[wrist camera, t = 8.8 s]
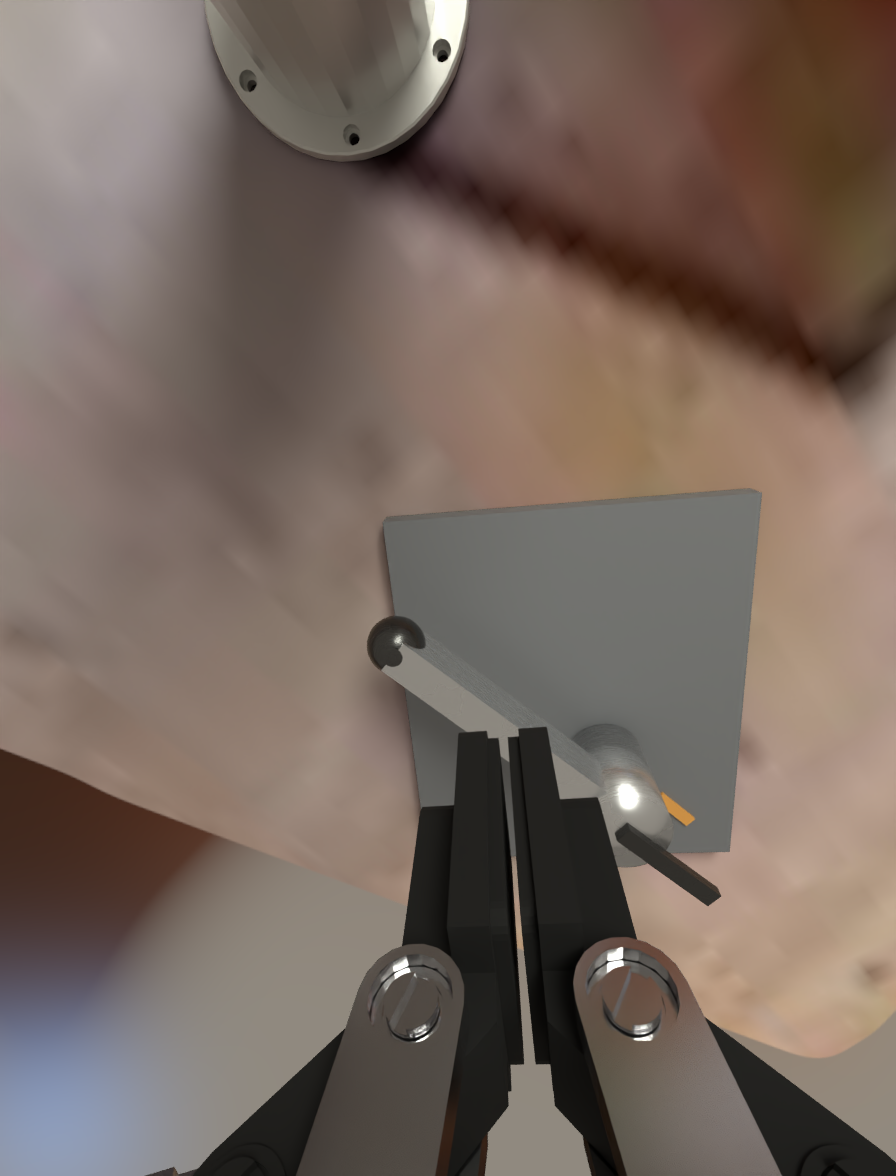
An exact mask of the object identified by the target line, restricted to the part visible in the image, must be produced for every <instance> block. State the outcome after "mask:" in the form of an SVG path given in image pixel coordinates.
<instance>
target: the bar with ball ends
mask: <svg viewBox="0 0 896 1176" xmlns="http://www.w3.org/2000/svg"><path fill="white" fill-rule="evenodd" d="M367 651H368V655H369V657H370V660H371V661H372V663H373V664H374V665H375V666H376V667H377V668H378V669H379V670H381V671H382V672H384V673H385V674H386V675H388V676H389V677H391V678H392V679H393V680H395V681H396V682H398V683H399V684H400V685H402V686H403V687H405V688H406V689H407V690H409V691H410V692H412V693H413V694H414V695H416V696H417V697H419V698H420V699H421V700H423V701H424V702H426V703H427V704H428V705H430V706H431V707H433V708H434V709H435V710H437V711H438V712H440V713H441V714H442V715H444V716H445V717H447V718H448V719H449V720H451V721H452V722H454V723H455V724H456V725H458V726H459V727H461V728H462V729H463V730H465V731H466V732H475V731H487V734H488V738H499V745H500V754H501V757H503V758H504V759H505V760H507V761H508V762H509V750H508V737H517V736H519V733H518V729H519V728H534V727H547V731H548V736H549V742H550V747H551V753H552V758H553V764H554V769H555V775H556V780H557V785H558V791H559V796H560V799H572V798H589V797H597V798H598V800H599V802H600V805H601V809H602V812H603V816H604V820H605V823H606V827H607V831H608V834H609V838H610V842H611V845H612V849H613V853H614V857H615V860H616V864H617V867H636V866H641V865H644V864H647V863H648V864H649V865H651V866H652V867H654V868H655V869H656V870H658V871H659V872H661V873H662V874H663V875H665V876H666V877H668V878H669V879H670V880H672V881H673V882H675V883H676V884H677V885H679V886H680V887H682V888H683V889H684V890H686V891H687V892H689V893H690V894H691V895H693V896H694V897H696V898H697V899H699V900H700V901H701V902H703V903H704V904H706V905H707V906H709V905H710V904H712V903H713V902H714V901H716V900H717V899H718V898H720V897H721V895H720V892H719V890H718V888H717V887H716V886H715V885H713V884H712V883H710V882H709V881H708V880H706V879H705V878H703V877H702V876H701V875H699V874H698V873H697V872H695V871H694V870H692V869H691V868H690V867H688V866H687V865H686V864H684V863H683V862H681V861H680V860H679V859H677V858H676V857H674V856H673V855H672V854H670V853H669V852H668V851H666V850H667V848H668V847H669V845H670V843H671V841H672V838H673V834H674V826H673V822H672V819H671V817H670V815H669V812H668V810H667V807H666V805H665V803H664V800H663V798H662V796H661V793H660V791H659V789H658V786H657V784H656V782H655V779H654V777H653V775H652V772H651V770H650V768H649V765H648V763H647V761H646V758H645V756H644V754H643V751H642V749H641V746H640V744H639V742H638V740H637V739H636V737H635V736H634V735H633V734H632V733H631V732H630V731H628V730H627V729H625V728H623V727H621V726H618V725H614V724H597V725H592V726H589V727H587V728H585V729H583V730H581V731H580V732H578V733H577V734H576V735H575V736H574V737H573V738H572V740H571V739H569V738H568V737H567V736H565V735H564V734H563V733H561V732H560V731H559V730H557V729H556V728H554V727H553V726H552V725H550V724H549V723H548V722H546V721H545V720H544V719H542V718H541V717H540V716H538V715H537V714H536V713H534V712H533V711H531V710H530V709H529V708H527V707H526V706H525V705H523V704H522V703H521V702H519V701H518V700H517V699H515V698H514V697H513V696H511V695H510V694H508V693H507V692H506V691H504V690H503V689H502V688H500V687H499V686H498V685H496V684H495V683H494V682H492V681H491V680H490V679H488V678H487V677H485V676H484V675H483V674H481V673H480V672H479V671H477V670H476V669H475V668H473V667H472V666H471V665H469V664H468V663H467V662H465V661H464V660H463V659H461V658H460V657H458V656H457V655H456V654H454V653H453V652H452V651H450V650H449V649H448V648H446V647H445V646H444V645H442V644H441V643H440V642H438V641H437V640H435V639H434V638H433V637H431V636H430V635H429V634H427V633H426V632H425V631H423V630H422V629H421V628H420V627H419V626H418V625H417V624H416V623H415V622H414V621H413V620H411V619H409V618H406V617H403V616H390V617H387V618H384V619H382V620H381V621H379V622H378V623H377V624H376V625H375V626H374V627H373V628H372V630H371V632H370V634H369V636H368V640H367Z"/></svg>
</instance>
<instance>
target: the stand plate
mask: <svg viewBox="0 0 896 1176" xmlns="http://www.w3.org/2000/svg"><path fill="white" fill-rule="evenodd" d="M761 498H762V493H761V492H759V491H756V490H753V489H751V488H748V489H736V490H723V491H710V492H698V493H685V494H672V495H660V496H647V497H634V498H622V499H609V500H596V501H584V502H571V503H558V504H546V505H533V506H520V507H508V508H495V509H482V510H470V511H457V512H444V513H432V514H419V515H406V516H394V517H386V519H385V520H384V521H383V530H384V537H385V544H386V552H387V559H388V567H389V574H390V582H391V589H392V597H393V604H394V612H395V616H403V617H406V618H409V619H411V620H413V621H414V622H415V623H416V624H417V625H418V626H419V627H420V628H421V629H422V630H423V631H425V632H426V633H427V634H429V635H430V636H431V637H433V638H434V639H435V640H437V641H438V642H440V643H441V644H442V645H444V646H445V647H446V648H448V649H449V650H450V651H452V652H453V653H454V654H456V655H457V656H458V657H460V658H461V659H463V660H464V661H465V662H467V663H468V664H469V665H471V666H472V667H473V668H475V669H476V670H477V671H479V672H480V673H481V674H483V675H484V676H485V677H487V678H488V679H490V680H491V681H492V682H494V683H495V684H496V685H498V686H499V687H500V688H502V689H503V690H504V691H506V692H507V693H508V694H510V695H511V696H513V697H514V698H515V699H517V700H518V701H519V702H521V703H522V704H523V705H525V706H526V707H527V708H529V709H530V710H531V711H533V712H534V713H536V714H537V715H538V716H540V717H541V718H542V719H544V720H545V721H546V722H548V723H549V724H550V725H552V726H553V727H554V728H556V729H557V730H559V731H560V732H561V733H563V734H564V735H565V736H567V737H568V738H569V739H571V740H572V738H573V737H574V736H575V735H576V734H577V733H578V732H580V731H581V730H583V729H585V728H587V727H589V726H592V725H597V724H614V725H618V726H621V727H623V728H625V729H627V730H628V731H630V732H631V733H632V734H633V735H634V736H635V737H636V739H637V740H638V742H639V744H640V746H641V749H642V751H643V754H644V756H645V758H646V761H647V763H648V765H649V768H650V770H651V772H652V775H653V777H654V779H655V782H656V784H657V786H658V789H659V791H660V793H661V796H662V798H663V800H664V803H665V805H666V807H667V810H668V812H669V815H670V817H671V819H672V822H673V826H674V834H673V838H672V841H671V843H670V845H669V847H668V848H667V850H666V851H668V852H669V853H693V852H730V841H731V830H732V819H733V808H734V797H735V786H736V775H737V764H738V753H739V742H740V730H741V719H742V708H743V697H744V686H745V675H746V664H747V653H748V642H749V631H750V620H751V608H752V597H753V586H754V575H755V564H756V553H757V542H758V531H759V520H760V509H761ZM405 694H406V701H407V708H408V716H409V723H410V731H411V738H412V746H413V753H414V761H415V768H416V776H417V783H418V790H419V798H420V805H421V809H422V807H430V806H447V805H454V797H455V780H456V764H457V747H458V734H459V733H461V732H466V731H465V730H463V729H462V728H461V727H459V726H458V725H456V724H455V723H454V722H452V721H451V720H449V719H448V718H447V717H445V716H444V715H442V714H441V713H440V712H438V711H437V710H435V709H434V708H433V707H431V706H430V705H428V704H427V703H426V702H424V701H423V700H421V699H420V698H419V697H417V696H416V695H414V694H413V693H412V692H410V691H409V690H407V689H406V688H405ZM501 764H502V773H503V783H504V792H505V801H506V811H507V820H508V830H509V839H510V849H511V856H516V846H515V833H514V819H513V805H512V791H511V777H510V763H509V762H508V761H507V760H505V759H504V758H503V757H501Z"/></svg>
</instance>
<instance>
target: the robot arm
mask: <svg viewBox="0 0 896 1176" xmlns="http://www.w3.org/2000/svg"><path fill="white" fill-rule="evenodd" d="M204 4H205V13H206V18H207V22H208V26H209V30H210V34H211V37H212V41H213V45H214V48H215V50H216V53H217V55H218V58H219V60H220V62H221V65H222V67H223V69H224V72H225V74H226V76H227V78H228V79H229V81H230V83H231V84H232V86H233V87H234V89H235V91H236V92H237V94H238V96H239V97H240V99H241V100H242V101H243V103H244V104H245V105H246V106H247V108H248V109H249V110H250V111H251V112H252V114H253V115H254V116H255V117H256V118H257V119H258V120H259V121H260V122H261V123H262V124H263V125H264V126H265V127H266V128H267V129H268V130H269V131H270V132H271V133H272V134H273V135H274V136H275V137H277V138H278V139H280V140H282V141H283V142H285V143H286V144H288V145H289V146H291V147H292V148H294V149H295V150H298V151H300V152H303V153H305V154H308V155H310V156H313V157H316V158H318V159H325V160H332V161H338V162H346V161H358V160H365V159H369V158H372V157H375V156H378V155H381V154H384V153H387V152H388V151H390V150H392V149H393V148H395V147H397V146H399V145H400V144H402V143H404V142H405V141H407V140H408V139H409V138H410V137H411V136H412V135H414V134H415V133H416V132H417V131H418V130H419V129H420V128H421V127H422V126H424V125H425V124H426V123H427V121H428V120H429V119H430V117H431V116H432V115H433V113H434V112H435V111H436V109H437V108H438V107H439V105H440V104H441V103H442V101H443V99H444V97H445V95H446V93H447V91H448V89H449V87H450V85H451V83H452V81H453V79H454V78H455V75H456V72H457V69H458V66H459V63H460V60H461V57H462V54H463V50H464V47H465V42H466V35H467V29H468V23H469V17H470V0H204ZM442 55H445V56H447V57H448V60H446V61H444V62H438V59H439V57H440V56H442ZM255 84H256V85H257V86H256V88H255V89H254V90H253V91H251V87H252V86H253V85H255ZM354 137H358V138H360V140H359V142H358V144H356V145H354V146H352V145H351V140H352V139H353V138H354ZM518 733H519V736H517V737H508V750H509V763H510V777H511V791H512V805H513V819H514V833H515V846H516V860H517V874H518V888H519V902H520V914H521V926H522V937H523V947H524V956H525V966H526V975H527V984H528V994H529V1003H530V1014H531V1023H532V1033H533V1043H534V1051H535V1062H536V1064H550V1065H551V1075H552V1085H553V1091H554V1099H555V1106H556V1107H557V1108H558V1109H559V1111H560V1112H561V1113H562V1114H563V1115H564V1116H565V1117H566V1118H567V1119H568V1120H569V1121H570V1122H571V1123H572V1125H573V1126H574V1127H575V1128H576V1129H577V1130H578V1131H579V1132H580V1133H581V1134H582V1135H583V1141H584V1148H585V1152H586V1155H587V1160H588V1163H589V1168H590V1172H591V1176H896V1162H895V1161H894V1160H892V1159H891V1158H890V1157H889V1156H888V1155H887V1154H886V1153H884V1152H883V1151H882V1150H880V1149H879V1148H878V1147H876V1146H875V1145H874V1144H872V1143H871V1142H870V1141H868V1140H867V1139H866V1138H864V1137H863V1136H862V1135H860V1134H859V1133H858V1132H857V1131H855V1130H854V1129H853V1128H851V1127H850V1126H849V1125H847V1124H846V1123H845V1122H843V1121H842V1120H841V1119H839V1118H838V1117H837V1116H835V1115H834V1114H833V1113H831V1112H830V1111H829V1110H827V1109H826V1108H825V1107H823V1106H822V1105H821V1104H819V1103H818V1102H816V1101H815V1100H814V1099H813V1098H811V1097H810V1096H809V1095H807V1094H806V1093H805V1092H803V1091H802V1090H801V1089H799V1088H798V1087H797V1086H796V1085H794V1084H793V1083H791V1082H790V1081H789V1080H788V1079H786V1078H785V1077H784V1076H782V1075H781V1074H780V1073H778V1072H777V1071H776V1070H774V1069H773V1068H772V1067H770V1066H769V1065H767V1064H766V1063H765V1062H764V1061H762V1060H761V1059H760V1058H758V1057H757V1056H756V1055H754V1054H753V1053H752V1052H750V1051H749V1050H748V1049H746V1048H745V1047H744V1046H742V1045H741V1044H740V1043H738V1042H737V1041H736V1040H735V1039H733V1038H732V1037H730V1036H729V1035H728V1034H727V1033H725V1032H724V1031H723V1030H721V1029H720V1028H719V1027H717V1026H716V1025H715V1024H713V1023H712V1022H711V1021H709V1020H708V1019H707V1018H705V1017H704V1015H703V1013H702V1011H701V1009H700V1007H699V1005H698V1003H697V1001H696V998H695V996H694V994H693V992H692V990H691V988H690V986H689V984H688V982H687V980H686V979H685V977H684V976H683V974H682V973H681V971H680V970H679V968H678V967H677V965H676V964H675V963H674V962H673V961H672V960H671V959H670V958H669V957H668V956H667V955H665V954H664V953H663V952H662V951H661V950H659V949H657V948H656V947H654V946H652V945H650V944H648V943H646V942H644V941H641V940H637V938H636V934H635V930H634V927H633V923H632V919H631V915H630V912H629V908H628V904H627V901H626V897H625V893H624V890H623V886H622V882H621V879H620V875H619V871H618V868H617V864H616V860H615V857H614V853H613V849H612V845H611V842H610V838H609V834H608V831H607V827H606V823H605V820H604V816H603V812H602V809H601V805H600V802H599V800H598V798H597V797H589V798H572V799H560V796H559V791H558V785H557V780H556V775H555V769H554V764H553V758H552V753H551V747H550V742H549V736H548V731H547V727H534V728H519V729H518ZM517 1064H524V1054H523V1037H522V1021H521V1005H520V989H519V973H518V957H517V941H516V925H515V909H514V893H513V876H512V861H511V849H510V839H509V830H508V820H507V811H506V801H505V792H504V783H503V773H502V764H501V754H500V745H499V738H488V734H487V731H475V732H461V733H459V734H458V747H457V764H456V780H455V797H454V805H447V806H430V807H422V809H421V812H420V817H419V824H418V832H417V839H416V847H415V854H414V862H413V869H412V877H411V884H410V891H409V899H408V906H407V914H406V922H405V929H404V936H403V944H402V947H399V948H396V949H393V950H391V951H390V952H388V953H387V954H385V955H384V956H382V957H381V958H379V959H378V960H377V961H376V962H375V964H374V965H373V966H372V967H371V968H370V969H369V971H368V972H367V973H366V975H365V977H364V979H363V981H362V983H361V985H360V987H359V990H358V992H357V995H356V998H355V1002H354V1004H353V1007H352V1010H351V1013H350V1016H349V1019H348V1022H347V1025H346V1028H345V1029H344V1030H343V1031H342V1032H341V1033H340V1034H339V1035H338V1036H337V1037H335V1038H334V1039H333V1040H332V1041H331V1042H330V1043H329V1044H328V1045H327V1046H326V1047H325V1048H324V1049H323V1050H322V1051H320V1052H319V1053H318V1054H317V1055H316V1056H315V1057H314V1058H313V1059H312V1060H311V1061H310V1062H309V1063H308V1064H307V1065H306V1066H304V1067H303V1068H302V1069H301V1070H300V1071H299V1072H298V1073H297V1074H296V1075H295V1076H294V1077H293V1078H292V1079H290V1080H289V1081H288V1082H287V1083H286V1084H285V1085H284V1086H283V1087H282V1088H281V1089H280V1090H279V1091H278V1092H276V1093H275V1094H274V1095H273V1096H272V1097H271V1098H270V1099H269V1100H268V1101H267V1102H266V1103H265V1104H264V1105H263V1106H261V1107H260V1108H259V1109H258V1110H257V1111H256V1112H255V1113H254V1114H253V1115H252V1116H251V1117H250V1118H249V1119H248V1120H247V1121H245V1122H244V1123H243V1124H242V1125H241V1126H240V1127H239V1128H238V1129H237V1130H236V1131H235V1132H234V1133H232V1134H231V1135H230V1136H229V1137H228V1138H227V1139H226V1140H225V1141H224V1142H223V1143H222V1144H221V1145H220V1146H219V1147H218V1148H216V1149H215V1150H214V1151H213V1152H212V1153H211V1154H210V1156H209V1157H208V1158H207V1159H206V1160H205V1161H204V1162H203V1164H202V1165H201V1166H200V1167H199V1168H198V1169H195V1170H192V1171H189V1172H186V1173H182V1174H178V1173H177V1171H176V1169H175V1168H174V1167H172V1168H169V1169H166V1170H162V1171H159V1172H156V1173H153V1174H149V1175H146V1176H485V1168H486V1159H487V1150H488V1132H489V1131H490V1129H491V1128H492V1127H493V1125H494V1124H495V1122H496V1121H497V1120H498V1119H499V1118H500V1116H501V1115H502V1114H503V1112H504V1111H505V1110H506V1109H507V1107H508V1091H511V1069H510V1065H517Z"/></svg>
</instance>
